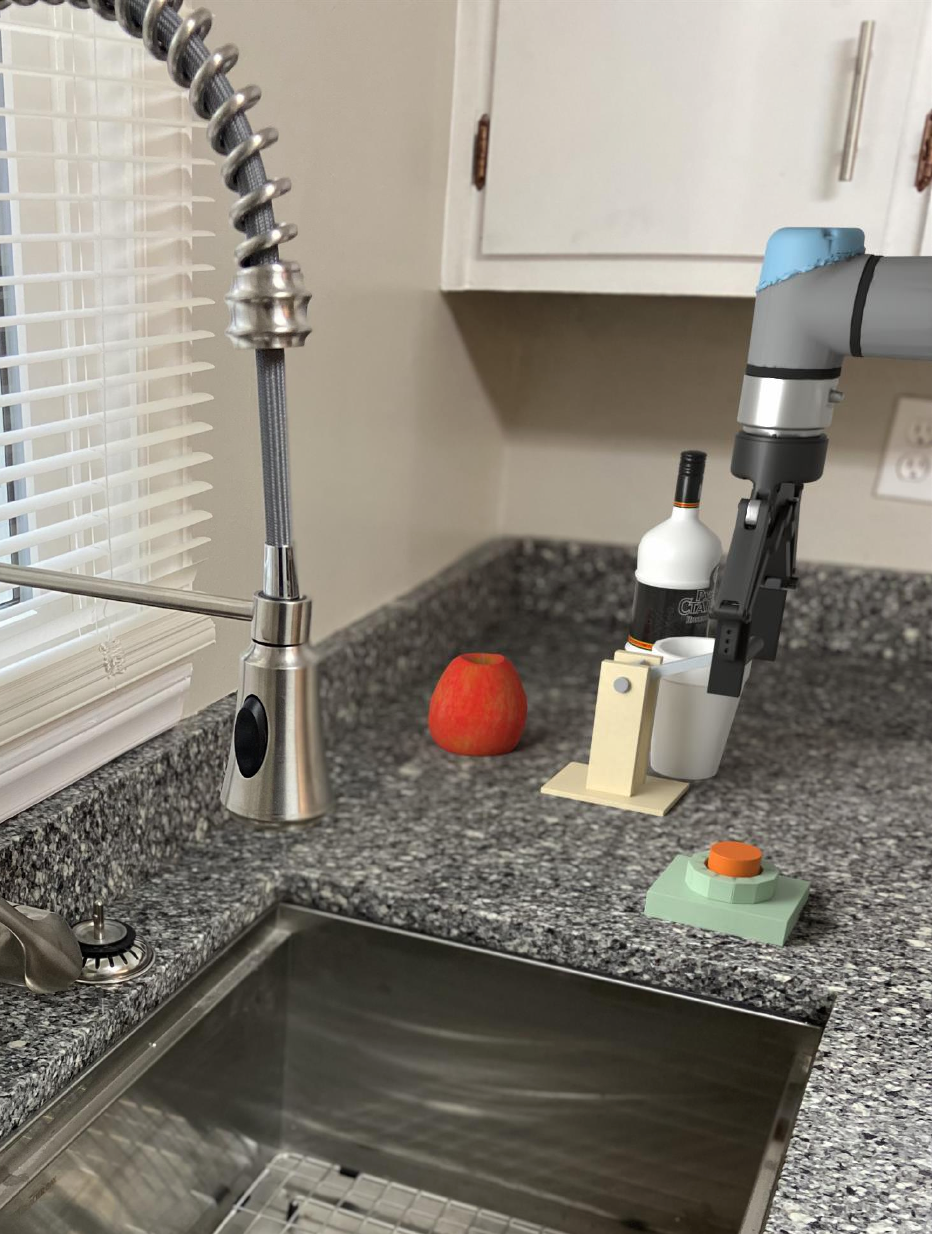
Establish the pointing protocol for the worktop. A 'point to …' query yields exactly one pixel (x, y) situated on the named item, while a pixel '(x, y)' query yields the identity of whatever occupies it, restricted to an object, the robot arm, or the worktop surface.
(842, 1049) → the worktop surface
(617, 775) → the bracket
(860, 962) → the worktop surface
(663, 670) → the lever
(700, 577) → the vodka
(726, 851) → the button
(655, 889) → the control block
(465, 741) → the apple
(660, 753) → the foam cup
